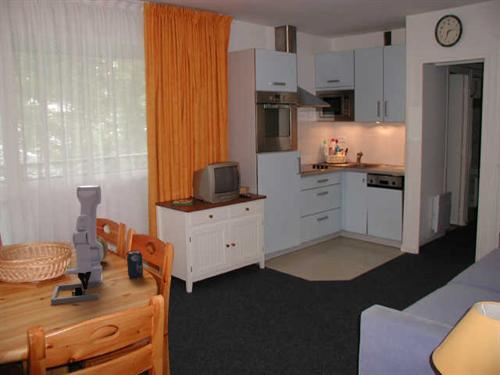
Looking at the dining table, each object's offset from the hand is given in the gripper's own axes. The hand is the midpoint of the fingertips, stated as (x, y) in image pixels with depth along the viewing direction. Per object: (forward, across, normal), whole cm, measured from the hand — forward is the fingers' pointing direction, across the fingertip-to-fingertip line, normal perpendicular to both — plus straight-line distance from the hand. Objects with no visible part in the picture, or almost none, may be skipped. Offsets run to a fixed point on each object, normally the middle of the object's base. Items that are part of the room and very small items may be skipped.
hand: (85, 288), depth 209 cm
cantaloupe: (+2, +1, +43) cm, 43 cm away
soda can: (+2, +21, +15) cm, 26 cm away
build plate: (+3, -3, -1) cm, 4 cm away
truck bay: (+2, -4, 0) cm, 4 cm away
